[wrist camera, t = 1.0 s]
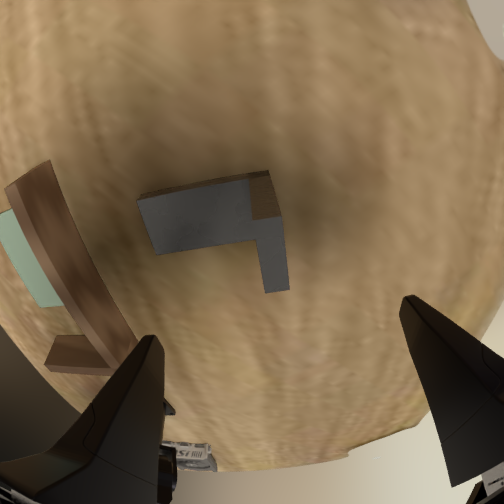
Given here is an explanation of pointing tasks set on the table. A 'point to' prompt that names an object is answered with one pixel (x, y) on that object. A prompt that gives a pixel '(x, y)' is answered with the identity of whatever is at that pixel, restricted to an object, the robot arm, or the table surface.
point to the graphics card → (193, 456)
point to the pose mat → (26, 261)
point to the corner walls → (70, 278)
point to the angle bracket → (220, 220)
